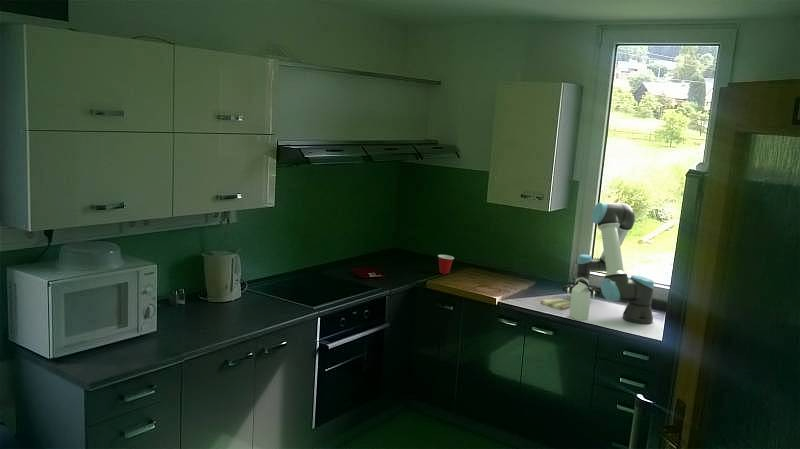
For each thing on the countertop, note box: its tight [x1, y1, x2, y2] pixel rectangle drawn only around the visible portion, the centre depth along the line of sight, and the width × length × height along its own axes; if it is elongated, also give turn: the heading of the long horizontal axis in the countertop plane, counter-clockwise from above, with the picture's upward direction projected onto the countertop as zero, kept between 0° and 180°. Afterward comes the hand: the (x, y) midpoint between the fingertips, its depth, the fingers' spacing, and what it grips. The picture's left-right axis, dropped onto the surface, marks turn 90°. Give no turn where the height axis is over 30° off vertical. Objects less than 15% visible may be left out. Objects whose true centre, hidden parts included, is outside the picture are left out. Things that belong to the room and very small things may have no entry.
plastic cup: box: [437, 254, 455, 275], centre depth 412 cm, size 11×11×12 cm
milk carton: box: [568, 282, 592, 321], centre depth 333 cm, size 7×7×19 cm
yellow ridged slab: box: [540, 296, 571, 311], centre depth 357 cm, size 15×14×2 cm
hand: (580, 294), depth 342 cm, fingers open, 13 cm apart
